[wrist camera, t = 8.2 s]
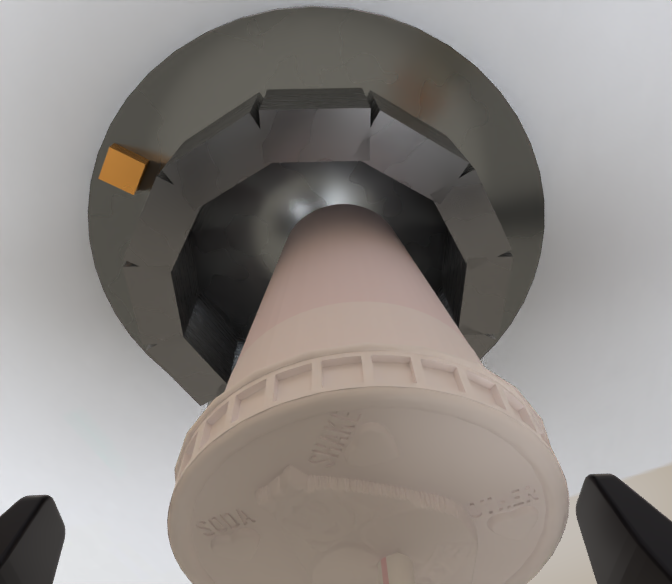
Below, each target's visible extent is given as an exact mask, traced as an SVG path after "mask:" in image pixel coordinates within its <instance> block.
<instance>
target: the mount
mask: <svg viewBox="0 0 672 584" xmlns="http://www.w3.org/2000/svg"><path fill="white" fill-rule="evenodd" d="M335 204H351V205H357V206H361V207H364V208H367V209H369V210H371V211H373V212H375V213H377V214H378V215H380V216H381V217H382V218H383V219H385V220H386V221H387V222H388V224H389V225H390V226H391V227H392V229H393V230H394V232H395V233H396V235H397V236H398V238H399V239H400V241H401V242H402V244H403V245H404V247H405V248H406V250H407V251H408V253H409V254H410V256H411V257H412V259H413V261H414V262H415V264H416V265H417V267H418V268H419V270H420V271H421V273H422V274H423V276H424V277H425V279H426V280H427V282H428V283H429V285H430V286H431V288H432V289H433V291H434V292H435V294H436V295H437V297H438V298H439V300H440V301H441V303H442V304H443V306H444V307H445V309H446V310H447V312H448V313H449V315H450V316H451V318H452V320H453V321H454V323H455V324H456V326H457V327H458V329H459V330H460V332H461V333H462V335H463V336H464V338H465V339H466V341H467V342H468V344H469V345H470V346H471V348H472V349H473V350H474V352H475V353H476V355H477V356H478V358H479V359H481V358H482V357H483V356H484V355H485V354H486V353H487V352H488V351H489V350H490V349H491V348H492V347H493V346H494V345H495V344H496V343H497V341H498V340H499V339H500V338H501V336H502V335H503V334H504V332H505V331H506V330H507V328H508V327H509V326H510V325H511V323H512V321H513V320H514V318H515V316H516V314H517V313H518V311H519V309H520V308H521V306H522V304H523V303H524V300H525V298H526V296H527V293H528V291H529V289H530V286H531V284H532V282H533V279H534V276H535V273H536V269H537V265H538V262H539V258H540V255H541V248H542V241H543V234H544V196H543V189H542V183H541V176H540V171H539V168H538V165H537V161H536V158H535V155H534V152H533V149H532V145H531V143H530V141H529V139H528V137H527V135H526V133H525V131H524V129H523V127H522V125H521V123H520V120H519V118H518V117H517V115H516V114H515V112H514V111H513V109H512V108H511V107H510V105H509V104H508V102H507V101H506V99H505V98H504V96H503V95H502V94H501V92H500V91H499V90H498V89H497V88H496V87H495V86H494V84H493V83H492V82H491V81H490V80H489V79H488V78H487V77H486V76H485V75H484V74H483V73H482V72H481V71H480V70H479V69H478V68H477V67H476V66H475V65H474V64H472V63H471V62H470V61H468V60H467V59H466V58H464V57H463V56H462V55H461V54H459V53H458V52H457V51H455V50H454V49H453V48H452V47H450V46H449V45H447V44H445V43H443V42H441V41H439V40H438V39H436V38H434V37H432V36H430V35H429V34H427V33H425V32H423V31H421V30H420V29H418V28H416V27H413V26H411V25H408V24H405V23H402V22H400V21H397V20H394V19H392V18H389V17H386V16H384V15H380V14H375V13H370V12H365V11H361V10H356V9H351V8H342V7H325V6H304V7H293V8H281V9H274V10H270V11H266V12H262V13H258V14H254V15H250V16H246V17H242V18H239V19H237V20H235V21H232V22H230V23H227V24H225V25H222V26H220V27H217V28H215V29H213V30H210V31H208V32H206V33H205V34H203V35H201V36H200V37H198V38H196V39H195V40H193V41H191V42H190V43H188V44H186V45H185V46H183V47H181V48H180V49H178V50H176V51H175V52H174V53H172V54H171V55H170V56H169V57H168V58H166V59H165V60H164V61H163V62H162V63H160V64H159V65H158V66H157V67H156V68H154V69H153V70H152V71H151V72H150V73H149V74H148V75H147V76H146V77H145V78H144V79H143V81H142V82H141V83H140V84H139V85H138V86H137V87H136V89H135V90H134V91H133V92H132V93H131V94H130V95H129V97H128V98H127V99H126V101H125V102H124V104H123V105H122V107H121V109H120V110H119V112H118V113H117V115H116V117H115V118H114V120H113V121H112V123H111V125H110V127H109V129H108V131H107V134H106V136H105V138H104V141H103V143H102V145H101V148H100V150H99V152H98V155H97V159H96V163H95V167H94V171H93V175H92V179H91V184H90V194H89V205H88V222H89V239H90V244H91V249H92V254H93V259H94V264H95V268H96V270H97V273H98V276H99V279H100V282H101V284H102V287H103V290H104V292H105V294H106V296H107V298H108V300H109V302H110V304H111V306H112V308H113V310H114V312H115V314H116V315H117V317H118V318H119V320H120V321H121V323H122V324H123V326H124V327H125V328H126V330H127V331H128V333H129V334H130V336H131V337H132V338H133V339H134V340H135V341H136V342H137V344H138V345H139V346H140V347H141V348H142V349H143V350H144V351H145V353H146V354H147V355H148V356H149V357H151V358H152V359H153V360H154V361H155V362H156V363H157V364H158V365H159V366H161V367H162V368H163V369H164V370H165V371H166V372H167V373H168V374H169V375H170V376H171V377H172V378H173V379H174V380H175V381H176V382H177V383H178V384H179V385H180V386H181V387H182V388H183V389H184V390H185V391H186V392H187V393H188V394H189V395H190V396H191V397H192V398H193V399H194V400H195V401H196V402H197V403H198V404H199V405H200V406H201V405H203V404H205V403H207V402H208V406H209V405H210V404H211V402H212V401H213V400H214V399H215V398H216V397H218V396H219V395H221V394H222V393H224V391H225V389H226V386H227V384H228V381H229V378H230V376H231V374H232V372H233V369H234V367H235V366H236V363H237V361H238V358H239V356H240V353H241V351H242V348H243V346H244V343H245V341H246V339H247V336H248V334H249V331H250V329H251V326H252V324H253V321H254V319H255V316H256V314H257V312H258V309H259V307H260V304H261V302H262V299H263V297H264V294H265V292H266V289H267V287H268V285H269V282H270V280H271V277H272V275H273V272H274V270H275V267H276V265H277V262H278V260H279V258H280V255H281V253H282V250H283V248H284V245H285V243H286V240H287V238H288V236H289V234H290V232H291V231H292V229H293V228H294V227H295V225H296V224H297V223H298V222H299V221H300V220H301V219H302V218H304V217H305V216H306V215H308V214H309V213H311V212H313V211H315V210H317V209H319V208H322V207H325V206H329V205H335ZM208 406H207V407H208Z"/></svg>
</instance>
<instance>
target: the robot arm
mask: <svg viewBox="0 0 672 584" xmlns="http://www.w3.org/2000/svg"><path fill="white" fill-rule="evenodd" d="M576 516H577V520H578V523H579V527H580V530H581V533H582V536H583V540H584V543H585V546H586V549H587V552H588V556H589V559H590V561H591V565H592V569H593V572H594V575H595V578H596V581H597V584H672V521H671V520H669V519H668V518H667V517H666V516H664V515H663V514H662V513H661V512H659V511H658V510H657V509H656V508H655V507H653V506H652V505H651V504H650V503H648V502H647V501H646V500H645V499H644V498H642V497H641V496H640V495H639V494H637V493H636V492H635V491H634V490H632V489H631V488H630V487H629V486H628V485H626V484H625V483H624V482H623V481H621V480H620V479H619V478H618V477H616V476H614V475H612V474H590V475H588V476H587V477H586V478H585V480H584V483H583V486H582V489H581V492H580V495H579V498H578V501H577V504H576ZM64 539H65V526H64V523H63V520H62V518H61V516H60V513H59V511H58V509H57V507H56V504H55V502H54V500H53V498H52V497H50V496H49V495H30V496H25V497H23V498H21V499H20V500H18V501H17V502H16V503H15V504H14V505H12V506H11V507H10V508H9V509H8V510H7V511H6V512H5V513H3V514H2V515H1V516H0V584H53V580H54V577H55V573H56V569H57V565H58V562H59V558H60V554H61V550H62V547H63V543H64Z"/></svg>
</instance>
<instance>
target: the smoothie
mask: <svg viewBox="0 0 672 584" xmlns="http://www.w3.org/2000/svg"><path fill="white" fill-rule="evenodd" d="M175 483H176V484H175V488H174V491H173V494H172V498H171V502H170V505H169V510H168V520H167V525H168V536H169V541H170V546H171V549H172V551H173V554H174V556H175V559H176V561H177V562H178V564H179V566H180V568H181V569H182V571H183V572H184V574H185V575H186V576H187V578H188V579H189V580H190V581H191V582H192V583H193V584H527V583H528V582H529V581H530V580H532V579H533V578H534V577H535V576H536V575H537V574H538V572H539V571H540V570H541V569H542V567H543V566H544V565H545V564H546V562H547V561H548V560H549V559H550V557H551V556H552V555H553V553H554V551H555V549H556V547H557V546H558V543H559V542H560V540H561V538H562V535H563V533H564V530H565V526H566V523H567V518H568V512H569V492H568V487H567V483H566V479H565V476H564V474H563V471H562V469H561V466H560V464H559V462H558V460H557V458H556V456H555V454H554V452H553V450H552V448H551V446H550V443H549V439H548V436H547V433H546V430H545V427H544V424H543V421H542V418H541V417H540V416H539V415H538V414H537V412H536V411H535V410H534V409H533V408H532V406H531V405H530V404H529V403H528V402H527V400H526V399H525V398H524V397H523V395H522V394H521V393H520V392H519V391H518V389H517V388H516V387H514V386H513V385H511V384H510V383H508V382H507V381H505V380H503V379H502V378H500V377H499V376H497V375H495V374H494V373H492V372H491V371H489V370H487V369H486V368H485V367H484V366H483V364H482V363H481V361H480V359H479V358H478V356H477V355H476V353H475V352H474V350H473V349H472V348H471V346H470V345H469V344H468V342H467V341H466V339H465V338H464V336H463V335H462V333H461V332H460V330H459V329H458V327H457V326H456V324H455V323H454V321H453V320H452V318H451V316H450V315H449V313H448V312H447V310H446V309H445V307H444V306H443V304H442V303H441V301H440V300H439V298H438V297H437V295H436V294H435V292H434V291H433V289H432V288H431V286H430V285H429V283H428V282H427V280H426V279H425V277H424V276H423V274H422V273H421V271H420V270H419V268H418V267H417V265H416V264H415V262H414V261H413V259H412V257H411V256H410V254H409V253H408V251H407V250H406V248H405V247H404V245H403V244H402V242H401V241H400V239H399V238H398V236H397V235H396V233H395V232H394V230H393V229H392V227H391V226H390V225H389V224H388V222H387V221H386V220H385V219H383V218H382V217H381V216H380V215H378V214H377V213H375V212H373V211H371V210H369V209H367V208H364V207H361V206H357V205H351V204H335V205H329V206H325V207H322V208H319V209H317V210H315V211H313V212H311V213H309V214H308V215H306V216H305V217H304V218H302V219H301V220H300V221H299V222H298V223H297V224H296V225H295V227H294V228H293V229H292V231H291V232H290V234H289V236H288V238H287V240H286V243H285V245H284V248H283V250H282V253H281V255H280V258H279V260H278V262H277V265H276V267H275V270H274V272H273V275H272V277H271V280H270V282H269V285H268V287H267V289H266V292H265V294H264V297H263V299H262V302H261V304H260V307H259V309H258V312H257V314H256V316H255V319H254V321H253V324H252V326H251V329H250V331H249V334H248V336H247V339H246V341H245V343H244V346H243V348H242V351H241V353H240V356H239V358H238V361H237V363H236V366H235V367H234V369H233V372H232V374H231V376H230V378H229V381H228V384H227V386H226V389H225V391H224V393H222V394H221V395H219V396H218V397H216V398H215V399H214V400H213V401H212V402H211V404H210V405H209V406H208V407H207V409H206V410H205V411H204V412H203V413H202V415H201V416H200V417H199V418H198V420H197V421H196V422H195V423H194V425H193V426H192V427H191V428H190V430H189V431H188V432H187V434H186V437H185V440H184V443H183V446H182V449H181V452H180V455H179V458H178V460H177V463H176V466H175Z"/></svg>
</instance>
